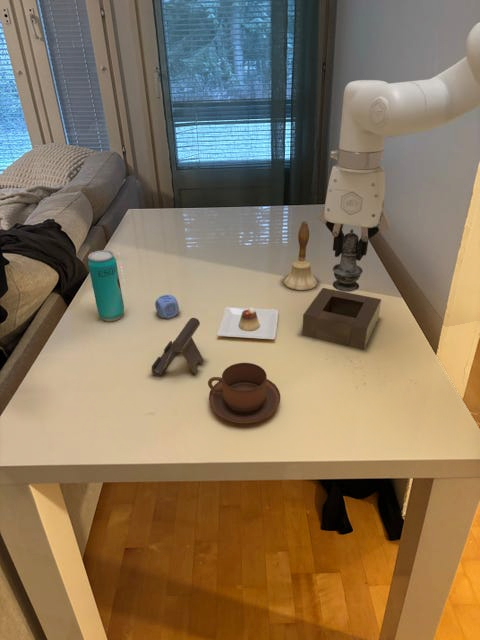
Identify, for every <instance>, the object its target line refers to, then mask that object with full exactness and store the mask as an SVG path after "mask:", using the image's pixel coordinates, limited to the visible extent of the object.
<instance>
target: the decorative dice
mask: <svg viewBox="0 0 480 640" xmlns="http://www.w3.org/2000/svg"><path fill="white" fill-rule="evenodd" d="M154 305H155V310H156V313H157V315H158V316H159V317H160V318H162V319H164V320H165V319H173V318H174V317H176V316H177V314H178V313H179V310H180V307H179V303H178V300H177V298H176V297H175V296H174V295H172V294H163V295H160V296H159V297H157V298H156V299H155V302H154Z"/></svg>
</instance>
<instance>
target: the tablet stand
mask: <svg viewBox="0 0 480 640" xmlns="http://www.w3.org/2000/svg"><path fill="white" fill-rule="evenodd" d="M200 325H201V322H200V320H199V319H198V318H197V317H191V318H190V319H189V320H188V321H187V322H186V324H185V325H184V327H183V328H182V329H181V331H180V332H179V333H178V335H177V337H176V338H175V339H174V340H173V341H172V340H170V341H169V342H168V343H167V344H166V346H165V347H164V349H163V353H162V355H161V356H158V357H157V358H156V359H155V361H154V362H153V364H151V373H152V374H153V376H156V377H160V376H161V375H162V374H163V373H164V372H165V370H166V368H167V366H168V365H169V364H170V362H171V361H172V359H173V358H174V356H175V355H176V354H177V353H181V354H182V355H183V357H184V359H185V361H186V363H187V365H188V367H189V368H190V370H191V373H192V374H193V375H194V376H195V375H197V374H198V372H199V369H198V368H197V364H198V363H199V364H200V366H202V365H203V364H204V361H205V359H204V357H203V356H202V354H201V352H200V350H199V348H198V347H197V344H196V342H195V340H194V338H193V336H194V334H195V333H196V331H197V329H199V327H200Z"/></svg>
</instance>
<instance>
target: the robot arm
mask: <svg viewBox="0 0 480 640" xmlns="http://www.w3.org/2000/svg"><path fill="white" fill-rule="evenodd" d="M342 98H343V99H342V110H341V122H340V133H339V144H338V148H337V149H334V150H331V151H330V154H329V156H330V157H329V158H330V159H333V160H335V161H336V164H335V165H333V166H332V168H331V172H330V174H329V179H328V184H327V190H326V196H325V203H324V207H323V208H322V210H321V211H320V212H319V213H318V215H317V220H318V221H319V222H321V223H322V224H323V225H325V226H326V228H327V229H328V230H329V231H330V233H331V236H332V237H333V243H332V251H334V257H335V258H338V257H340V256H341V253H340V251H341V250H342V248H343V238H344V236H345V234H344V232H343V228H344V226H352V227H358V228H359V227H360V231H361V232H360V235H361V236H360V239H359V240H358V248H357V257H356V261H357V262H358V261H359V262H360V261H361V260H362V258H363V257H365V256H366V255H367V252H368V246H369V240H370V239H371V238H373V237H374V236H375V235H377V234H379V233H381V232H384V231H386V230H388V229H390V227H391V222H390V219H389V218H388V215H387V213H386V211H385V196H386V194H385V193H386V173H385V172H386V171H385V168H384V167H383V166H382V164H383V163H382V162H383V156H384V155H383V154H384V148H385V147H384V146H385V139H386V138H393V137H400V136H406V135H411V134H416V133H420V132H421V133H422V132H427V131H432V130H435V129H438V128H440V127H442V126H444V125H446V124H449V123H451V122H453V121H455V120H457V119H458V118H460V117H463V116H465V115H466V114H469V113H470V112H472V111H474V110H476V109H478V108H479V107H480V21H479V22H478V23H476V24H475V25H474V26H473V27H472V28H471V29H470V31H469V32H468V35H467V37H466V41H465V56H464V57H463V58H461V59H460V60H459V61H457V62H456V63H455V64H453V65H451V66H450V67H448V68H447V69H446V70H445V69H444V71H442V72H440V73H438V74H437V75H434V76H433V77H431V78H428V79H419V80H408V81H400V82H391V83H389V82H387V81H384V80H379V79H377V80H376V79H361V80H353V81H350V82H348V83H347V84H346V85H345V88H344V91H343V96H342Z"/></svg>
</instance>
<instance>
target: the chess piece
mask: <svg viewBox="0 0 480 640" xmlns="http://www.w3.org/2000/svg"><path fill="white" fill-rule="evenodd" d="M359 240H360V239H359V236H358V234H356V233H354V229H353V228H351V229H350V230H349V233H346V234H344V238H343V248H342V250H341V251H340V253H341V254H340V262H339V263H338V264H335V265H334V266H333V267H332V271H333V277H334V278H335V280H334V281H333V282H332V287H333V288H334V290H337V291H342V292H347V293H351V292H355V291H357V290H359V288H360V284H359V283H358V282H357V281H358V280H359V279H360V277H361V275H362V274H363V272H364V270H363V268H362V267H361V266H359V265H358V264H357V260H356V257H357V249H358V242H359Z"/></svg>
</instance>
